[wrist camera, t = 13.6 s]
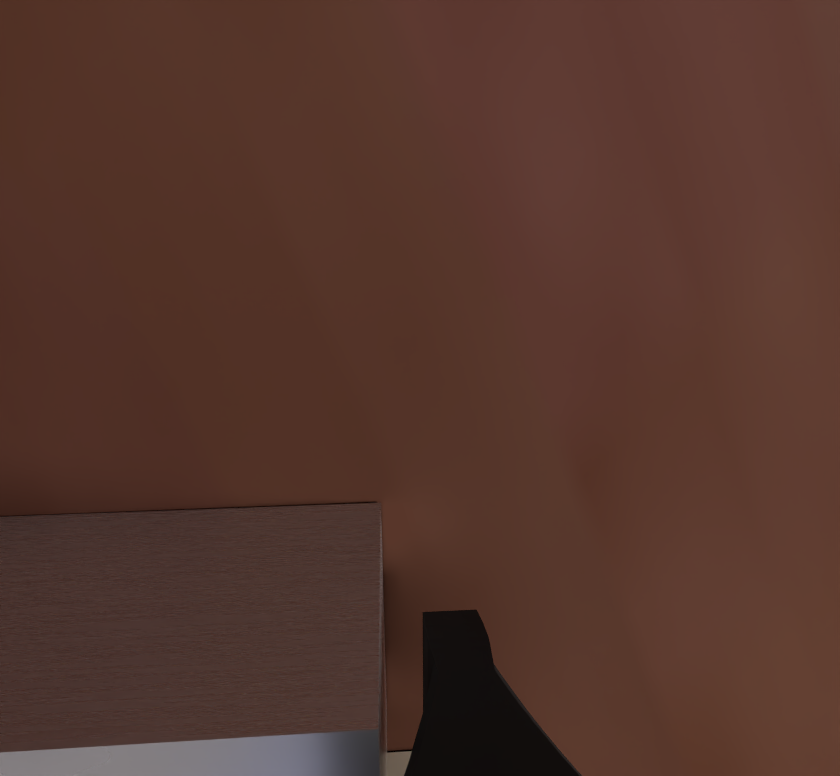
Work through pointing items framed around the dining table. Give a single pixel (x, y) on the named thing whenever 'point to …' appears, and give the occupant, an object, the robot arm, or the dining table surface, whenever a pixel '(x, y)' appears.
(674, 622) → the dining table surface
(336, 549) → the block
